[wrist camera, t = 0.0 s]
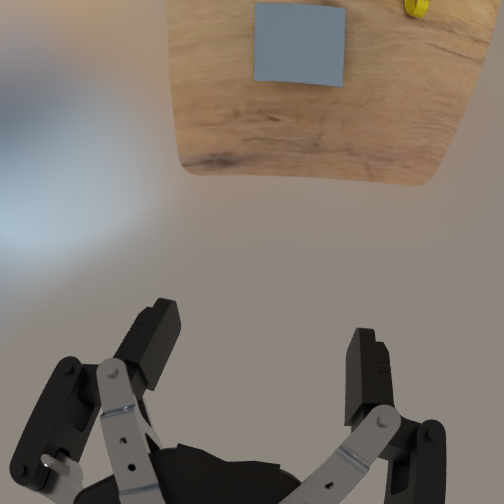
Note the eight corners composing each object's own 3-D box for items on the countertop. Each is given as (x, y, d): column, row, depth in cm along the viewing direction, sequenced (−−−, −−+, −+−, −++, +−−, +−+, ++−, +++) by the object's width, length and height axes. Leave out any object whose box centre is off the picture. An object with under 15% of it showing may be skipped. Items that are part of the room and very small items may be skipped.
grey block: (263, 12, 23) (254, 3, 19) (340, 17, 22) (345, 8, 18) (262, 79, 27) (254, 80, 23) (337, 85, 26) (342, 87, 22)
